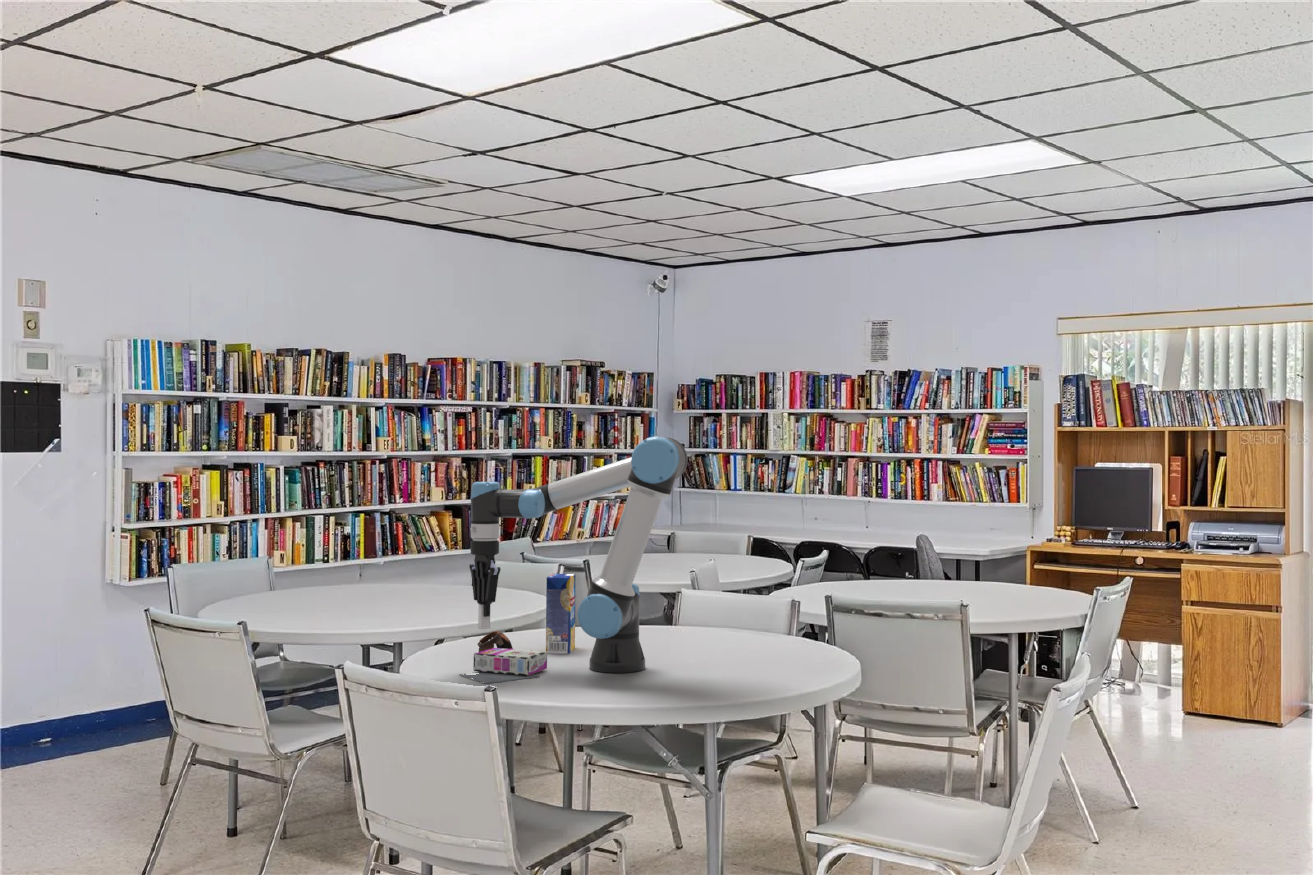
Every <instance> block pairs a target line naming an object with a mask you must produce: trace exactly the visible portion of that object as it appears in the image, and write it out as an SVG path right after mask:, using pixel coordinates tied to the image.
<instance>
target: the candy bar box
mask: <svg viewBox="0 0 1313 875" xmlns="http://www.w3.org/2000/svg"><path fill="white" fill-rule="evenodd" d="M472 667H473V672H492V673H503V674H514V675H526V676H529V675H531V674H536V673H539V672H542V671H544V670H547V668H548V653H547V652H546V650H545V651H544V650H542V651H541V650H530V649H515V648H513V649H504V648H497V647H494V648H492V649H488V650H485V651H481V652H479V651H478V652H475V653H473V666H472Z"/></svg>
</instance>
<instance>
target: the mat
mask: <svg viewBox="0 0 1313 875" xmlns="http://www.w3.org/2000/svg"><path fill="white" fill-rule="evenodd" d="M473 673H479V674H476V675H466V673H459V674H458V676H459V675H462V676H465V677H467V678H466V679H468V678H473V679H474V680H477V681H478V682H477V681H476V682H477V683H480V682H484V683H483V685H489V684H496V683H505V682H511V681H512V682H513V681H521V680H527V679H528V680H529V679H535V678H536V679H537V678H541V675H539V674H536V673H534V674H531V675H529V676H526V675H514V674H503V673H492V672H479V671H473ZM463 674H464V675H463ZM462 676H461V677H462ZM465 677H464V678H465ZM474 680H473V681H474ZM494 682H495V683H494Z"/></svg>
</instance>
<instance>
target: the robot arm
mask: <svg viewBox="0 0 1313 875" xmlns="http://www.w3.org/2000/svg"><path fill="white" fill-rule="evenodd" d="M688 460H689V458H688V453H687V451H686V448H685V446H683V444H682V443H680V441H679V440H676V439H674V438H673V437H663V436H660V435H657V436H655V435H654V436H649V437H647V438H645V439H644V440H642V441H640V442H639V443H637V445H636V446H635V448H634V449H633V451H632V454H631V457H626V458H625V459H624V458H623V459H620V460H619V461H615V462H612V463H608V464H606V465H603V466H599V467H596V468H594V469H590V470H587V471H584V472H581V473H578V474H575V475H571V476H569V477H566V478H565V477H564V478H562V479H559V480H557V481H554V482H550V483H548V484H544V485H540V486H537V487H535V488H523V489H504V488H501V487H500V483H499V482H498V481H475V482H473V483H472V484H471V491H470V492H471V493H470V528H469V530H470V538H471V539H472V540H471V541H470V554H471V555H472V556H474V562H473V563H470V564H469V570H470V574H471V585H472V593H473V600H474V601H476V602H477V604H478V619H477V620H478V621H477V622H478V625H477V626H478V628H477V629H479V630H488V629H491V605H492V604H493V603H495V602H496V599H497V590H498V582H499V576H500V574H501V573H500V572H501V567H499V566H496V558H495V556H496V555H498V554H500V541H499V540H498V539H499V538H500V519H501V518H508V519H509V518H511V519H512V518H513V519H527V520H528V519H538V518H540V517H542V516H544V515H547V514H549V513H551V512H554V511H557V510H560V509H562V508H566V507H570V506H572V505H576V504H579V503H582V502H585V501H588V500H591V499H595V498H598V497H601V496H604V495H608V494H611V493H615V492H617V491H620V490H623V489H627V488H630V490H629V492H628V495H627V499H626V501H625V503H624V504H625V505H624V507H623V510H622V513H621V515H620V519H619V521H618V524H617V528H616V529H615V533H614V535H613V538H612V541H611V543H610V547H609V549H608V552H607V555H606V558H605V561H604V564H603V566H602V569H601V573H600V574H599V575H598V576H596V577H593V579H592V581H591V584H590V586H589V589H588V593H587V595H586V597H584V598H583V599H582V600H581V602H580V603H579V606H578V609H577V620H578V622H577V623H578V624H579V626H580V628H581V630H582V631H583V633H585V634H586V635H588V636H589V637H592V638H593V639H595V642H594V645H593V648H592V652H591V655H590V658H589V664H588V665H589V669H590V670H591V671H592V670H593V671H596V672H601V673H609V674H610V673H612V674H613V673H615V674H617V673H620V674H623V673H624V674H625V673H633V672H639V671H643V670H646V658H645V655H644V651H643V648H642V645H641V642H640V598H641V593H640V587H639V585H638V584H636V583H634V580H635V577H636V575H637V572H638V569H639V566H640V564H641V560H642V558H643V555H644V552H645V550H646V546H647V544H648V541H649V537H650V535H651V532H652V529H653V526H654V524H655V521H656V518H657V515H658V512H659V510H660V506H661V504H662V502H663V501H662V500H663V499H665V498H667V497H669V496H670V495H671V493H672V490H673V487H674V484H675V481H676V479H678V478H680V477H681V476H682V475H683V473H684V472H686V469H687V466H688Z"/></svg>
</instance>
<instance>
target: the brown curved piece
mask: <svg viewBox="0 0 1313 875" xmlns="http://www.w3.org/2000/svg"><path fill="white" fill-rule="evenodd" d="M477 646H478V647H479V648H478V652H481V651H485V650H488V649H492V648H495V646H496V648H504V649H514V648H513V645H512V642H511V641H510V639H509V638H508V636H506V635H505V634H504V633H503V632H500V631H499V630H494V631H491V632H489V633H487V634H485V635H484V636H483V637H482V638H481V639H479V641H478V643H477Z"/></svg>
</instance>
